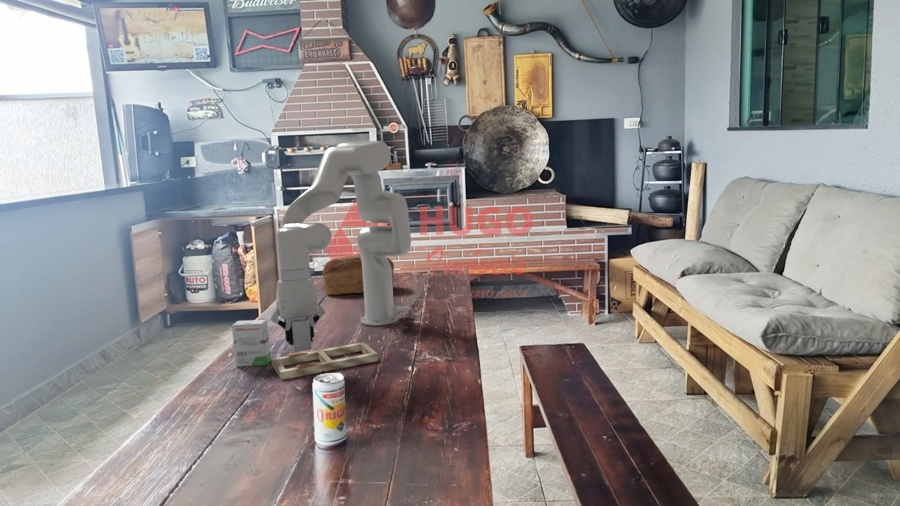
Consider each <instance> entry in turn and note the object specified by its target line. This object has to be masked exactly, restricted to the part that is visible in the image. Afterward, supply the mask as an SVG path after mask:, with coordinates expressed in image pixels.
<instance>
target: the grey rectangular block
mask: <svg viewBox="0 0 900 506" xmlns="http://www.w3.org/2000/svg"><path fill="white" fill-rule="evenodd" d="M290 328H291V330H292V337H293V345H290V344H289V346H290V349H291V350H292V351H293V353H297V352H302V351H309V350H312V342H311V336H310V323H309V319H308V318H307V317H301V318H294V319H291V326H290Z"/></svg>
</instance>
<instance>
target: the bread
mask: <svg viewBox="0 0 900 506" xmlns="http://www.w3.org/2000/svg"><path fill="white" fill-rule="evenodd" d="M385 257H386V258H387V259H388V261H389V263H390V265H391V269H392V286H393V287H394V276H395V275H394V273H395V272H394V270H395V265H394V262H393V261H392V260H391V259H390V258H388V257H387V256H385ZM322 276H323V282H324V284H323V285H324V289H325V293H326V294H327V295H333V296H338V295H346V294H364V288H363V273H362V262H361V256H360V254H358V255H351V256H343V257H338V258H333V259H331V260H328V261H327V262H326V263H325V264H324V266H323V269H322Z"/></svg>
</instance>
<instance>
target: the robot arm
mask: <svg viewBox="0 0 900 506" xmlns="http://www.w3.org/2000/svg"><path fill="white" fill-rule="evenodd" d="M390 160H391V150H390V148H389V146H388V145H387V144H386V142H384V141H381V140H372V141H371V140H369V141H368V140H367V141H365V140H364V141H347V142H342V143H339V144H338V145H335V146H331V147H328V148H327V149H325V151H324V153H323V155H322V157H321V160H320V161H319V162H320V163H319V165H318V167H317V170H316V172H315V176H314V178H313V180H312V183H311V185H310V187H309V188H308V189H307V190H305V191H304V192H303V193H301V194H300V195H299V196H298V197H297V198H296V199H295V200H294V201H293V202H292V203H290V205H289V206H288V207H287V209H286V210H285V211H284V215H283V216H282V218H281V219H282V220H281V222H280V225H279V228H278V230H277V233H276V241H277V252H278V255H277V256H278V266H279V267H278V268H279V277H280V278H279V279H278V280H277V283H276V294H275V295H276V299H275V300H276V308H275V310H274V312H273V313H272V314H271V316H270V318H269V320H270V321H271V323H272V322H273V323H274V324H277V325H278V326H280V327H281V328H283V329H284V334H285V335H284V336H285V342H287V343H288V344H289V346H290V345H293V337H292V330H291V328H290V326H291V319H294V318H301V317H307V318H308V319H309V323H310V336H311V343H312V342H313V341H314V340H313V339H314V338H315V326H316V324H317V322H319V320H320V319H321V318H322V316H325V314H326V310H325V309H324V308H323V306H321V305H320V304H319V301H318V297H317V291H316V286H315V282H314V278H313V277H312V274H315V273H316V268H315V267H310V260H309V259H310V258H309V253H310V252H320V251H324V250H325V249H327V248H328V247H329V245H330V244H331V241H332V238H333V237H332V231H331V229H330V228H329V227H328V226H327V225H326V224H324V223H320V222H305V220H306V219H307V218H308V217H310V216H311V215H313V214H315V213H317V212H319V211H321V210H323V209H326V208H327V207H330V206H332V205H334V204H336V203H337V202H338V201H340V197H341V196H342V193H343V190H344V188H345V184H346V181H347V180H348V179H347V178H348V177H349V176H350V178H351V179H352V180H353V185H354V190H355V191H354V192H355V199H356V200H355V201H356V206H357V213H358V216H359V218H360V220H361V221H362V222H364V223H369V224H375V223H376V224H390V225H369V226H364V227H363V228H361V229H360V230H359V231H358V233H357V238H356V242H357V247H358V251H359V255H360V256H361V262H362V273H363V288H364V292H363V300H364V302H363V303H364V315H363V316H361V318H360V322H361V324H363V325H366V326H372V327H373V326H375V327H379V326H380V327H381V326H387V325H392V324H394V323H397V322H398V321H399V320H400V313H408V312H409V307H408V306H407V305H405V306H401V305H399V306H398V305H394V304H395V303H394V290H393V288H394V285H393V286H392V269H391V265H390V263H389V261H388V259H387V258H388V257H389V256H391V257H402V256H405V255H407V254H408V253H409V252H410V250H411V246H412V236H411V225H410V218H409V217H410V216H409V210H408V208H409V207H408V204H407V203H408V202H407V201H406V199H405V197H404V196H403V195H402V194H400V193H397V192H385V191H384V190H383V183H382V178H381V175H380V173H379V172H380V171H382V170H384V169H385V168H386V167H387V166H388V165H389V164H390ZM387 256H388V257H387ZM386 257H387V258H386ZM279 317H280V318H279ZM281 319H282V320H281Z"/></svg>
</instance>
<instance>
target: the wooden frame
mask: <svg viewBox="0 0 900 506" xmlns="http://www.w3.org/2000/svg"><path fill="white" fill-rule="evenodd" d="M357 352H361V353H362V354H360V355H359V354H358V355H355V356H349V357H344V358H339V359H338V358H337V359H334V360H332V359H331V357H336V356H343V355H347V354H353V353H357ZM315 360H318V361H320V362H316V361H315ZM309 361H313V362H309ZM378 361H379V354H378V353H377V351H375V350H374V349H373V348H371V347H370V346H369V345H368V344H366V343H365V342H364V341H362V342H357V343H352V344H346V345H339V346H334V347H329V348H324V349H318V350H312V351H308V350H304V351H298V352H292V353H288V354H287V355H285V356H279V357H275V358H271V364H272V365H271V366H272V367H273V369H274V370H275V372H276V373H277V375H278V377H279V378H280V380H286V379H287V380H288V379H292V378H293V379H294V378H298V377H302V376H303V377H304V376H308V375H312V374H313V375H314V374H318V373H323V372H322V371H324V372H329V371H334V370H339V369H344V368H349V367H354V366H359V365H363V364H368V363H375V362H378ZM305 362H308V363H305ZM300 363H302V364H300ZM293 364H297V365H296V367H291V368H285V366H289V365H293Z"/></svg>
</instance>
